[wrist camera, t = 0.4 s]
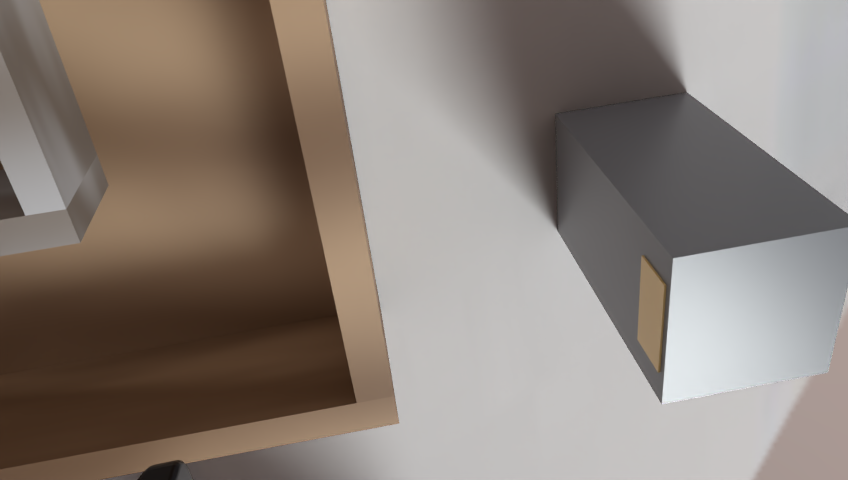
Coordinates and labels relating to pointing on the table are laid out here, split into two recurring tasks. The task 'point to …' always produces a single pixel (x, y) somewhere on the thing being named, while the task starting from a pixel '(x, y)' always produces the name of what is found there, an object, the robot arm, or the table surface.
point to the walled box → (178, 237)
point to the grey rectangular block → (700, 246)
